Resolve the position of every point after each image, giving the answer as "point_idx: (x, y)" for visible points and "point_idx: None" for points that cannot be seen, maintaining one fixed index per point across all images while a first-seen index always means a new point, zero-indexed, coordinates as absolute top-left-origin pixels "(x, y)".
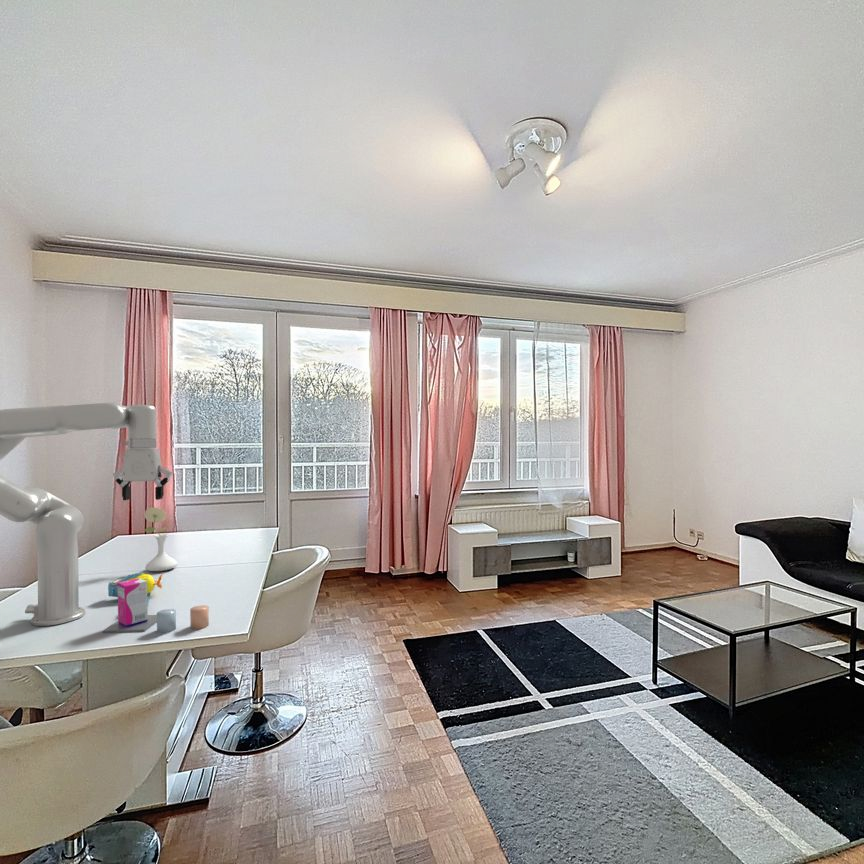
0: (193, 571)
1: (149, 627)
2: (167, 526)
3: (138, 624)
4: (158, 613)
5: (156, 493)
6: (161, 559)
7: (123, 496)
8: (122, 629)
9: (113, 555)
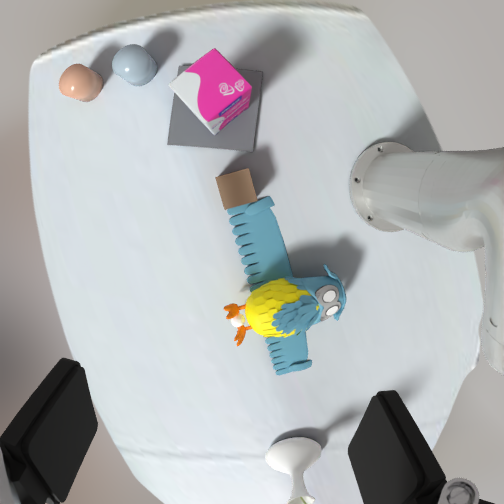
0: (225, 434)
1: None
2: None
3: None
4: (141, 51)
5: (45, 394)
6: (292, 458)
7: (403, 410)
8: None
9: None
